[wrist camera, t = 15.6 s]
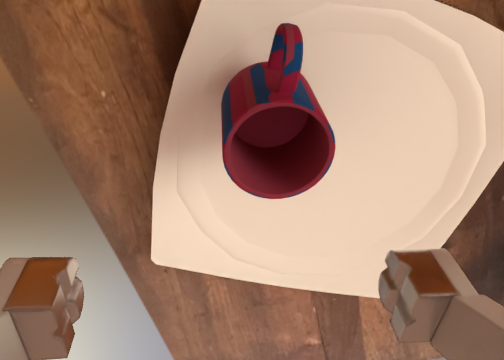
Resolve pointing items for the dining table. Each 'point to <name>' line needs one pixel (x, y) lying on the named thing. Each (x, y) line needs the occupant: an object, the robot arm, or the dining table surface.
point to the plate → (346, 141)
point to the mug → (275, 124)
